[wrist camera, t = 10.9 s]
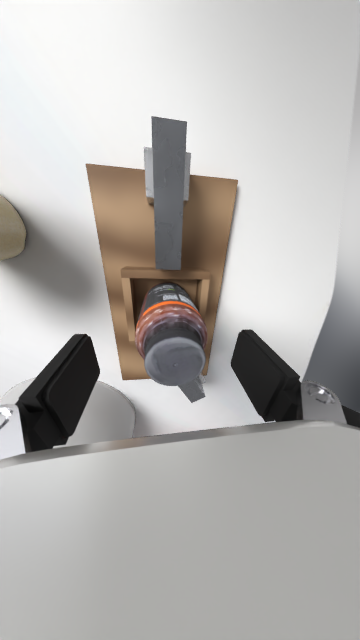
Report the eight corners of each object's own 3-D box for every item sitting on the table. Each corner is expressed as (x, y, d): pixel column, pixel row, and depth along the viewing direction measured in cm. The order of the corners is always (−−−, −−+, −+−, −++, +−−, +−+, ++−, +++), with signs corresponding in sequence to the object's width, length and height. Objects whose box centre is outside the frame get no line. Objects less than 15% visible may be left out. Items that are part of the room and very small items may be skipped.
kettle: (69, 465, 35) (-50, 754, 15) (-42, 421, 26) (-785, 1071, 5) (158, 421, 32) (155, 720, 12) (69, 351, 22) (-873, 1437, 2)
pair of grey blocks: (146, 154, 13) (139, 114, 9) (230, 165, 14) (259, 132, 10) (155, 381, 25) (154, 407, 21) (200, 378, 26) (208, 403, 22)
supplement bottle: (160, 331, 21) (159, 408, 11) (134, 296, 19) (102, 356, 9) (197, 310, 21) (233, 373, 10) (175, 271, 18) (195, 304, 8)
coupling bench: (89, 167, 14) (70, 146, 11) (234, 182, 16) (251, 168, 13) (123, 376, 25) (118, 393, 22) (205, 371, 27) (210, 387, 24)
